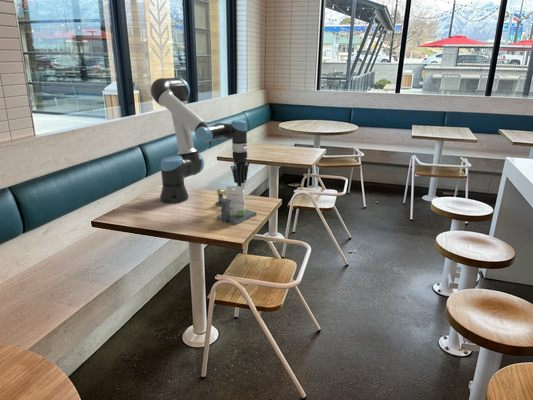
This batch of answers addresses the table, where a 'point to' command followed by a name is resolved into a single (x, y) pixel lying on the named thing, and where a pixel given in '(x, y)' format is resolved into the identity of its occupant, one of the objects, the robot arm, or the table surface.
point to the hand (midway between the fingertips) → (240, 194)
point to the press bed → (228, 218)
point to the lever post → (218, 200)
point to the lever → (221, 192)
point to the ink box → (236, 200)
